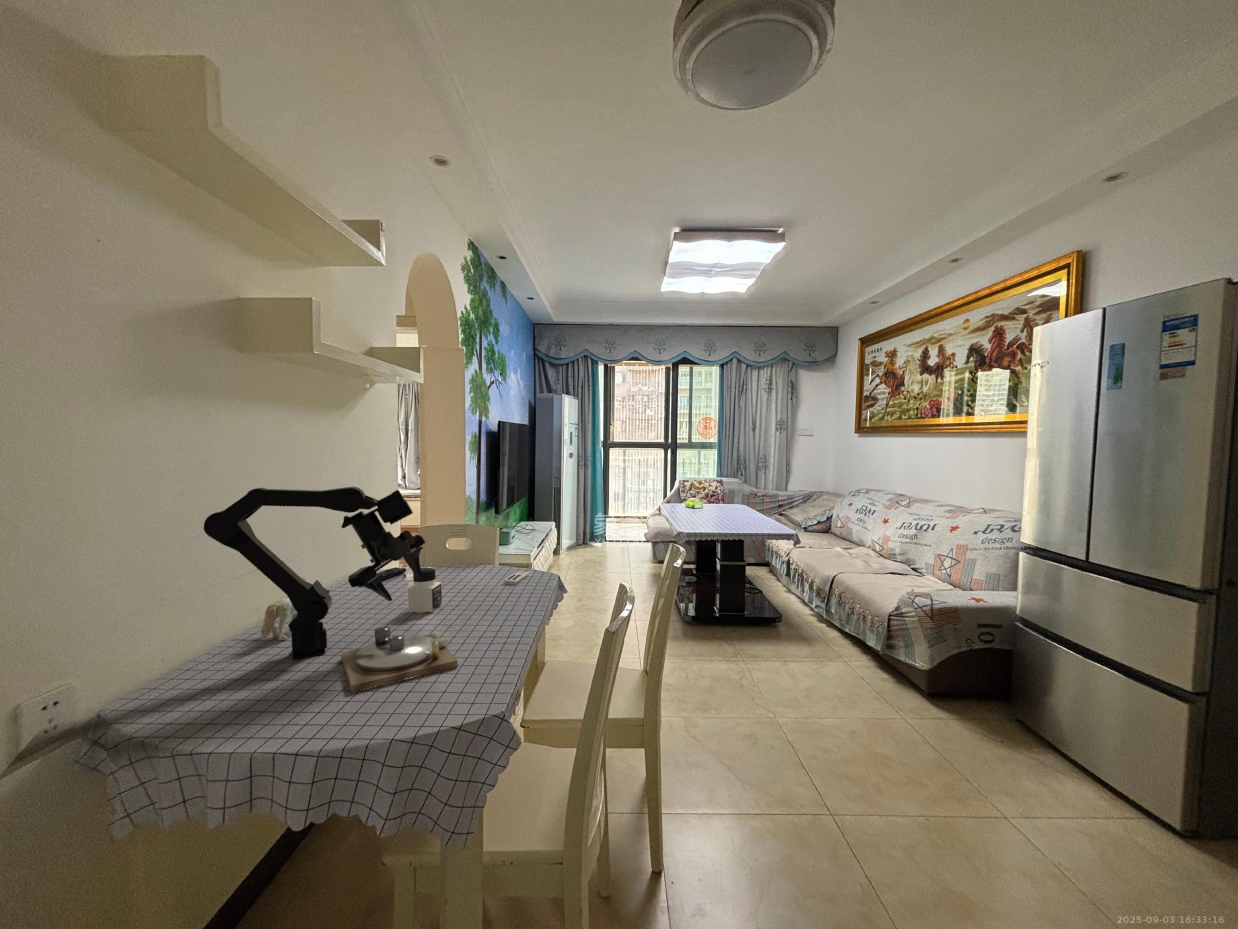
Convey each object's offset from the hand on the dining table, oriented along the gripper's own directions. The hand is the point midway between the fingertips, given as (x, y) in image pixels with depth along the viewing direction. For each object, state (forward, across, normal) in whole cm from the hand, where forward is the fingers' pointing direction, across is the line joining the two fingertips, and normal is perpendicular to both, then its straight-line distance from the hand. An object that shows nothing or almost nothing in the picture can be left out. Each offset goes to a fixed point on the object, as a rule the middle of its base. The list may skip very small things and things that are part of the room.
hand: (406, 589), depth 128 cm
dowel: (+12, -12, -17) cm, 24 cm away
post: (+7, -14, -10) cm, 18 cm away
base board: (+10, -15, -9) cm, 20 cm away
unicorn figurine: (-2, -16, +34) cm, 37 cm away
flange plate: (+9, -13, -10) cm, 19 cm away
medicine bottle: (+13, +12, +20) cm, 27 cm away
